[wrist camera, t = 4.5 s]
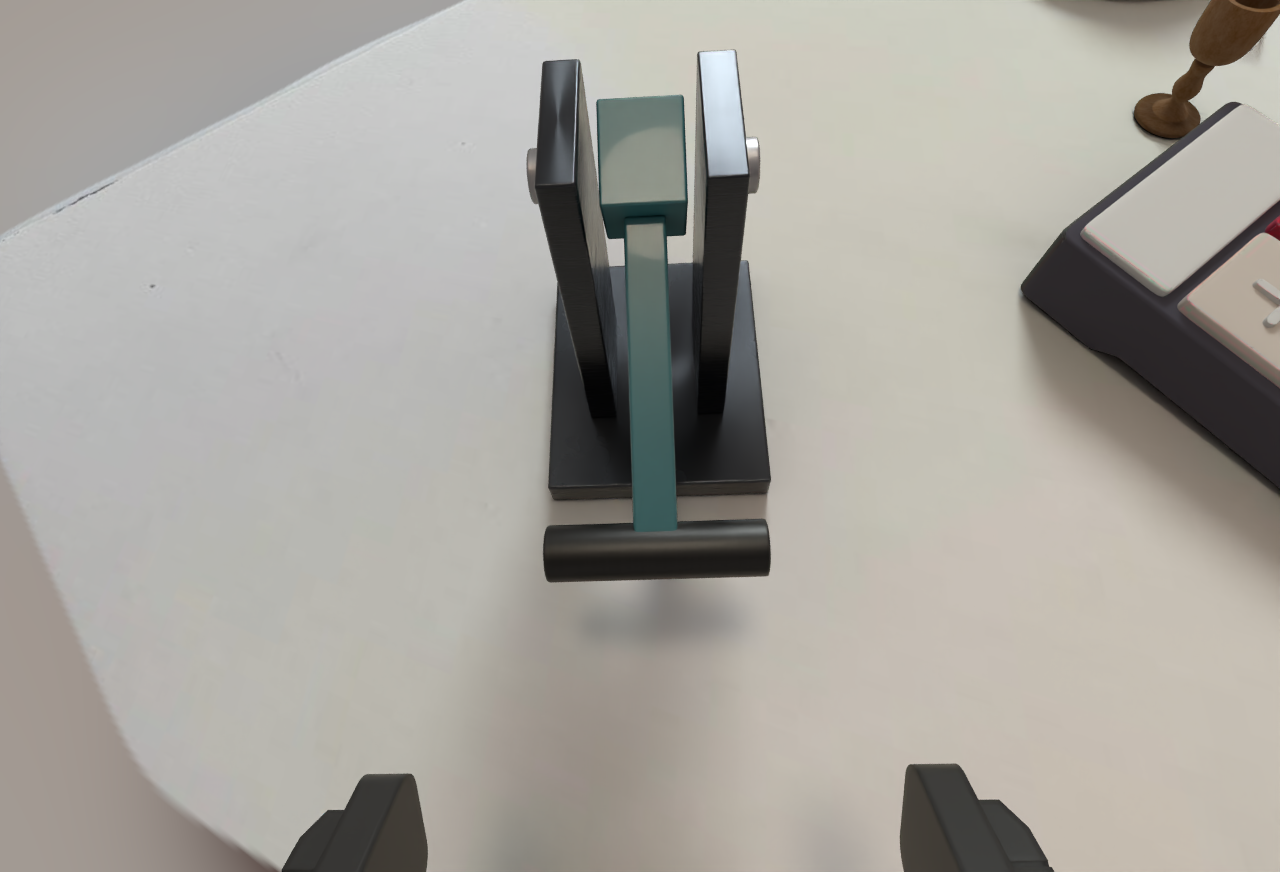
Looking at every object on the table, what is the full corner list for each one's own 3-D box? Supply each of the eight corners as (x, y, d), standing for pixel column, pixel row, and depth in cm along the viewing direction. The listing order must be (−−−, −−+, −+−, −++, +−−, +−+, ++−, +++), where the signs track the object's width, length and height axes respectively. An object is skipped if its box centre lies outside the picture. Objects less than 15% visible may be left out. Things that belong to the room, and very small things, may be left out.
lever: (762, 570, 19) (775, 582, 17) (555, 576, 20) (540, 588, 17) (742, 136, 20) (752, 89, 18) (545, 146, 20) (528, 102, 18)
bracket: (767, 493, 27) (833, 269, 15) (553, 500, 27) (457, 287, 15) (746, 277, 31) (784, -23, 20) (562, 286, 31) (492, -5, 20)
